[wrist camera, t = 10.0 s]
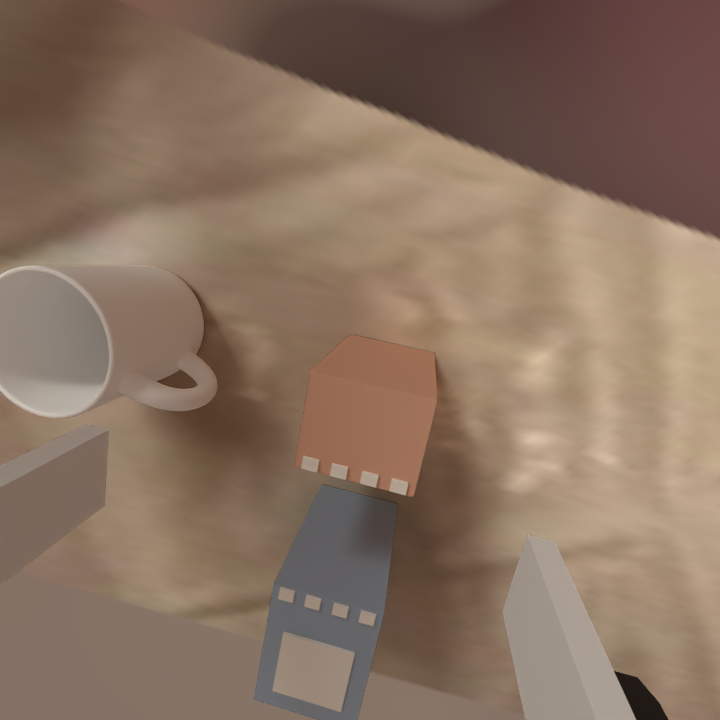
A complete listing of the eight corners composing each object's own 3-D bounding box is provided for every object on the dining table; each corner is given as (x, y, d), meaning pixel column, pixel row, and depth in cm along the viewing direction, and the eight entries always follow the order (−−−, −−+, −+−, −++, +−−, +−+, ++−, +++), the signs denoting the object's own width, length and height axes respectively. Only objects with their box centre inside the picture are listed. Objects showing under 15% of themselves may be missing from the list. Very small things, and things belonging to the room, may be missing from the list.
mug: (269, 338, 32) (199, 372, 22) (214, 423, 35) (128, 487, 25) (136, 242, 32) (7, 232, 22) (89, 332, 35) (-48, 360, 25)
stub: (350, 334, 31) (309, 371, 21) (434, 353, 31) (437, 401, 20) (337, 400, 33) (292, 468, 22) (418, 419, 32) (413, 499, 21)
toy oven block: (321, 484, 34) (272, 585, 23) (397, 503, 34) (383, 617, 23) (304, 571, 36) (252, 702, 25) (376, 591, 36) (354, 735, 25)
